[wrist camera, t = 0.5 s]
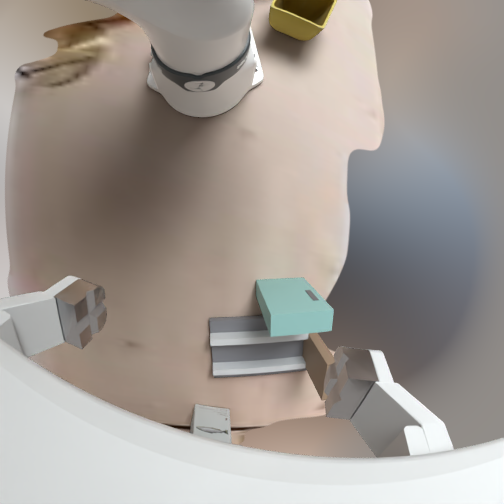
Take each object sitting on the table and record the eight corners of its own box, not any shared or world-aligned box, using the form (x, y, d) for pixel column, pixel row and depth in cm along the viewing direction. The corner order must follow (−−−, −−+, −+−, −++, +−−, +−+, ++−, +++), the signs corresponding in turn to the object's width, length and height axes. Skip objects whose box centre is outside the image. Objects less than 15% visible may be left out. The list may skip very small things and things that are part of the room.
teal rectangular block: (256, 279, 47) (270, 314, 33) (303, 276, 48) (333, 309, 34) (256, 297, 48) (270, 337, 34) (302, 294, 49) (331, 331, 35)
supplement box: (230, 407, 52) (234, 452, 40) (222, 429, 54) (225, 472, 41) (194, 402, 51) (191, 447, 39) (189, 424, 52) (186, 468, 40)
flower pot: (321, 22, 38) (338, -2, 30) (307, 52, 40) (324, 29, 31) (278, 4, 37) (288, -23, 28) (260, 33, 38) (269, 6, 29)
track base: (209, 317, 47) (207, 360, 35) (312, 311, 49) (340, 348, 37) (214, 373, 50) (214, 422, 37) (307, 366, 52) (329, 409, 39)
